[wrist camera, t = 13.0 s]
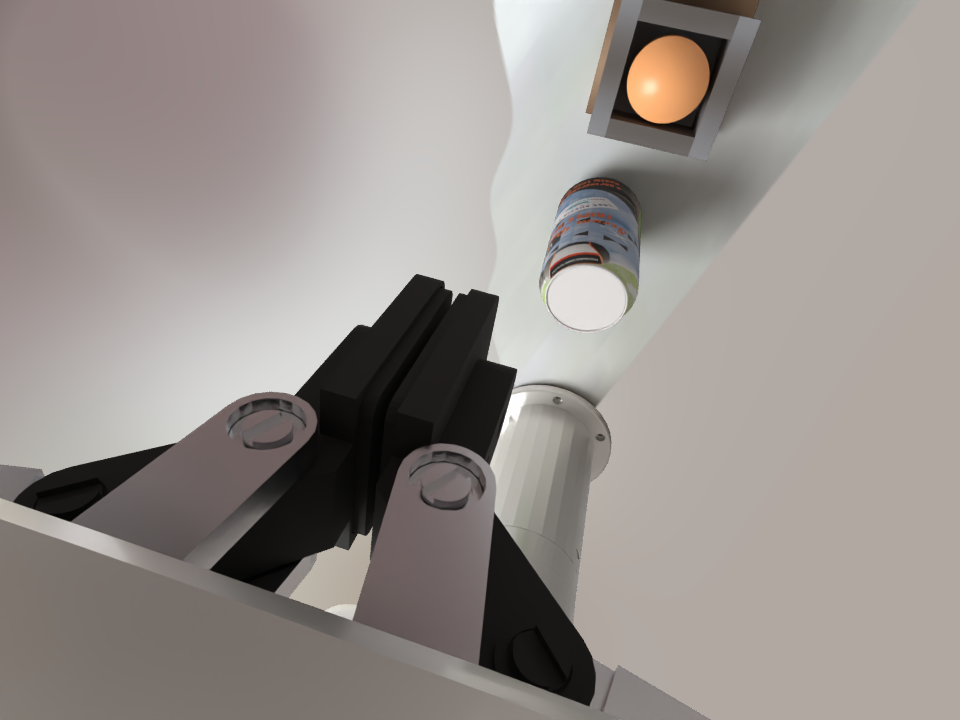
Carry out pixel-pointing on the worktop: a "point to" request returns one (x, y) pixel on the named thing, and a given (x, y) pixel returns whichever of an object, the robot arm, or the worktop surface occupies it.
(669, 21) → the rail bench
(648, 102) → the plunger
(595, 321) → the beverage can
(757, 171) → the worktop surface
